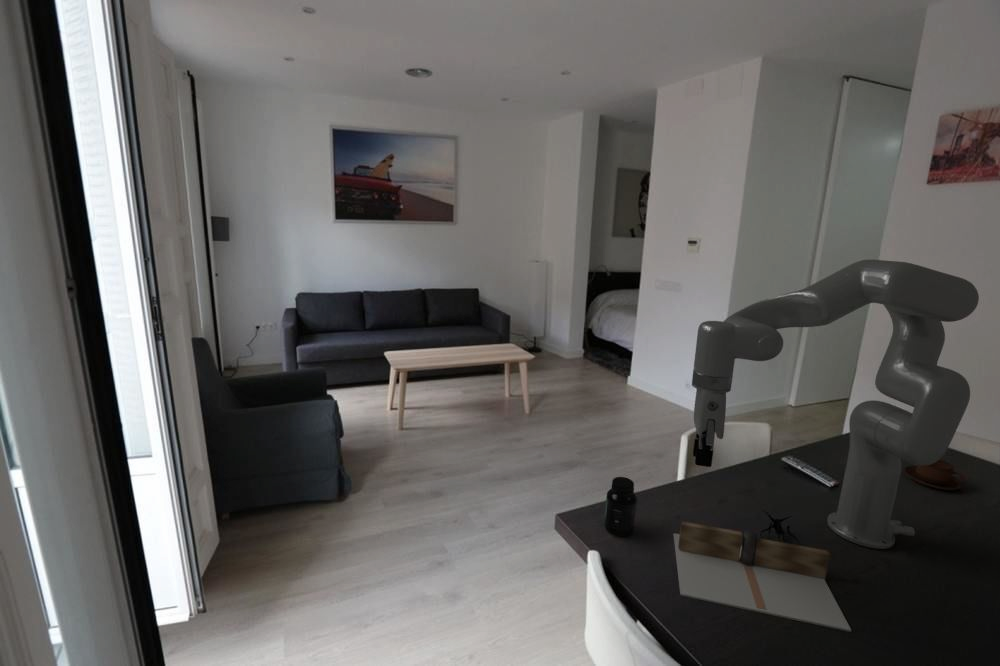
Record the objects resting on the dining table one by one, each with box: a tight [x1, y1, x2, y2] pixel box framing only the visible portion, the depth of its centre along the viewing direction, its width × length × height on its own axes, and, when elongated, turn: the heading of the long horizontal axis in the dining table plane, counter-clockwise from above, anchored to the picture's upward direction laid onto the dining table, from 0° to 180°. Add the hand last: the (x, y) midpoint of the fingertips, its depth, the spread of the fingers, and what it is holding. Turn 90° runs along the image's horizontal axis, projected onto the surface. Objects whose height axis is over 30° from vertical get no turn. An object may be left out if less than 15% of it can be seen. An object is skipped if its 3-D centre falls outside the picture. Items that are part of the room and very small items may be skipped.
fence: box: [740, 530, 831, 579], centre depth 96 cm, size 15×2×7 cm, turn 74°
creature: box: [759, 509, 799, 545], centre depth 106 cm, size 8×5×8 cm
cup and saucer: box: [904, 458, 965, 491], centre depth 132 cm, size 12×12×6 cm
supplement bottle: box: [603, 476, 638, 538], centre depth 108 cm, size 7×7×12 cm
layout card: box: [673, 533, 852, 633], centre depth 94 cm, size 28×19×1 cm
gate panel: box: [678, 520, 744, 561], centre depth 99 cm, size 12×1×6 cm, turn 74°
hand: (701, 460), depth 102 cm, fingers open, 3 cm apart
